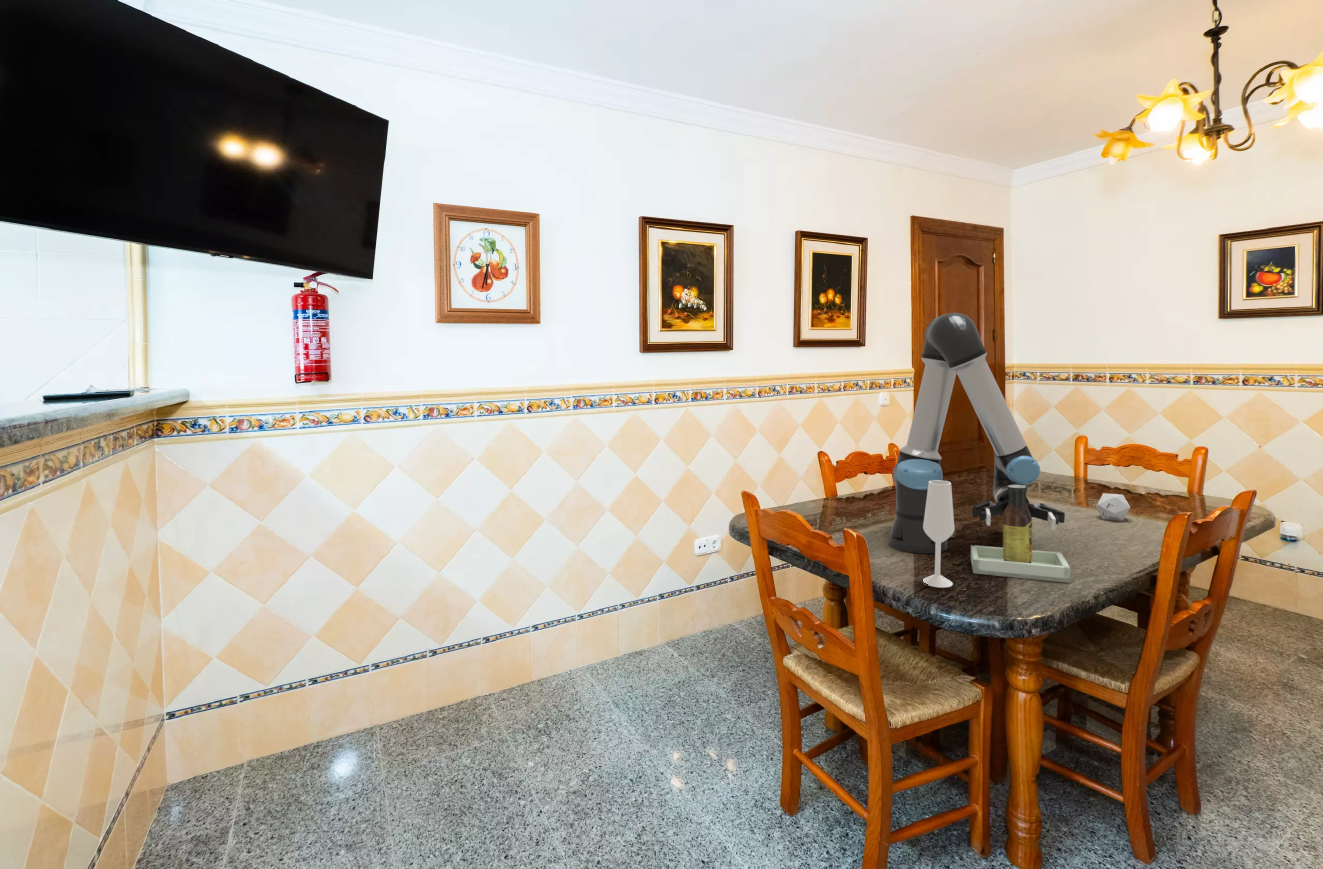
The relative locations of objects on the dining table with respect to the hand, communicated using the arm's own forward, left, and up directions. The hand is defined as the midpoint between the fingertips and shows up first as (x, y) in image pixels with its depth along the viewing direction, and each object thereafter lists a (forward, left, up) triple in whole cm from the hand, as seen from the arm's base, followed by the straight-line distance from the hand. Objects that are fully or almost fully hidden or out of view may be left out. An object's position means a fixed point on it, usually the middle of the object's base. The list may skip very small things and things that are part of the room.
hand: (1020, 522), depth 149 cm
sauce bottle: (0, +2, -12) cm, 12 cm away
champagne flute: (-18, -13, -13) cm, 26 cm away
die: (+32, +61, -13) cm, 70 cm away
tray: (0, +2, -13) cm, 13 cm away
